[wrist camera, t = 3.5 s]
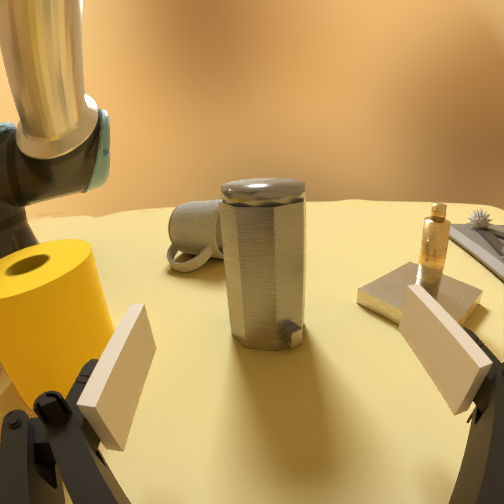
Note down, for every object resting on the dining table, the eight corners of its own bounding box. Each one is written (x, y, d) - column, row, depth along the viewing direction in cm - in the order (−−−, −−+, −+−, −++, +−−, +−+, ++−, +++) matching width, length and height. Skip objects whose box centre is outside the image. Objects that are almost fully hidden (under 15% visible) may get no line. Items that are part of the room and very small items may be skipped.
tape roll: (91, 433, 14) (24, 308, 11) (2, 395, 15) (-51, 292, 12) (143, 343, 24) (116, 237, 20) (58, 331, 25) (29, 241, 21)
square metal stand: (356, 302, 28) (364, 199, 24) (408, 273, 33) (417, 189, 29) (442, 347, 20) (472, 228, 16) (479, 303, 25) (499, 210, 21)
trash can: (217, 318, 27) (202, 184, 22) (270, 299, 30) (266, 175, 25) (264, 365, 21) (257, 197, 16) (324, 336, 24) (331, 185, 19)
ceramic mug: (196, 242, 47) (190, 193, 44) (244, 246, 44) (240, 194, 41) (154, 270, 38) (143, 213, 35) (208, 279, 35) (199, 215, 32)
